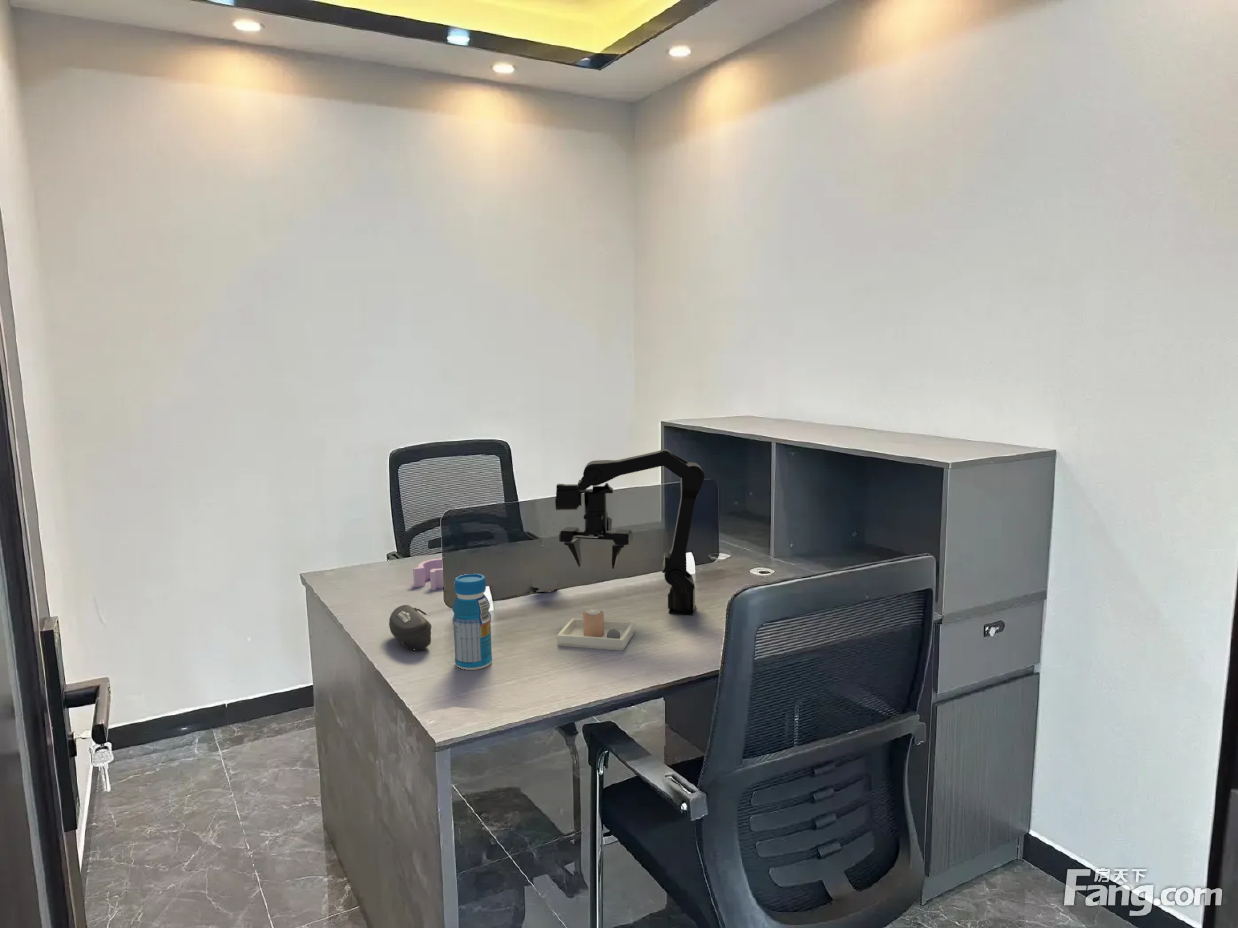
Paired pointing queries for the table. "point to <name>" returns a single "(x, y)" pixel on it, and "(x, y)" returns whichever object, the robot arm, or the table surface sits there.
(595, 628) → the cylinder
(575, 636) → the tray
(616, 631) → the ball
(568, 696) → the table surface
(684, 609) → the robot arm
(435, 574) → the clip
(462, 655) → the beverage bottle
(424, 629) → the glasses case
